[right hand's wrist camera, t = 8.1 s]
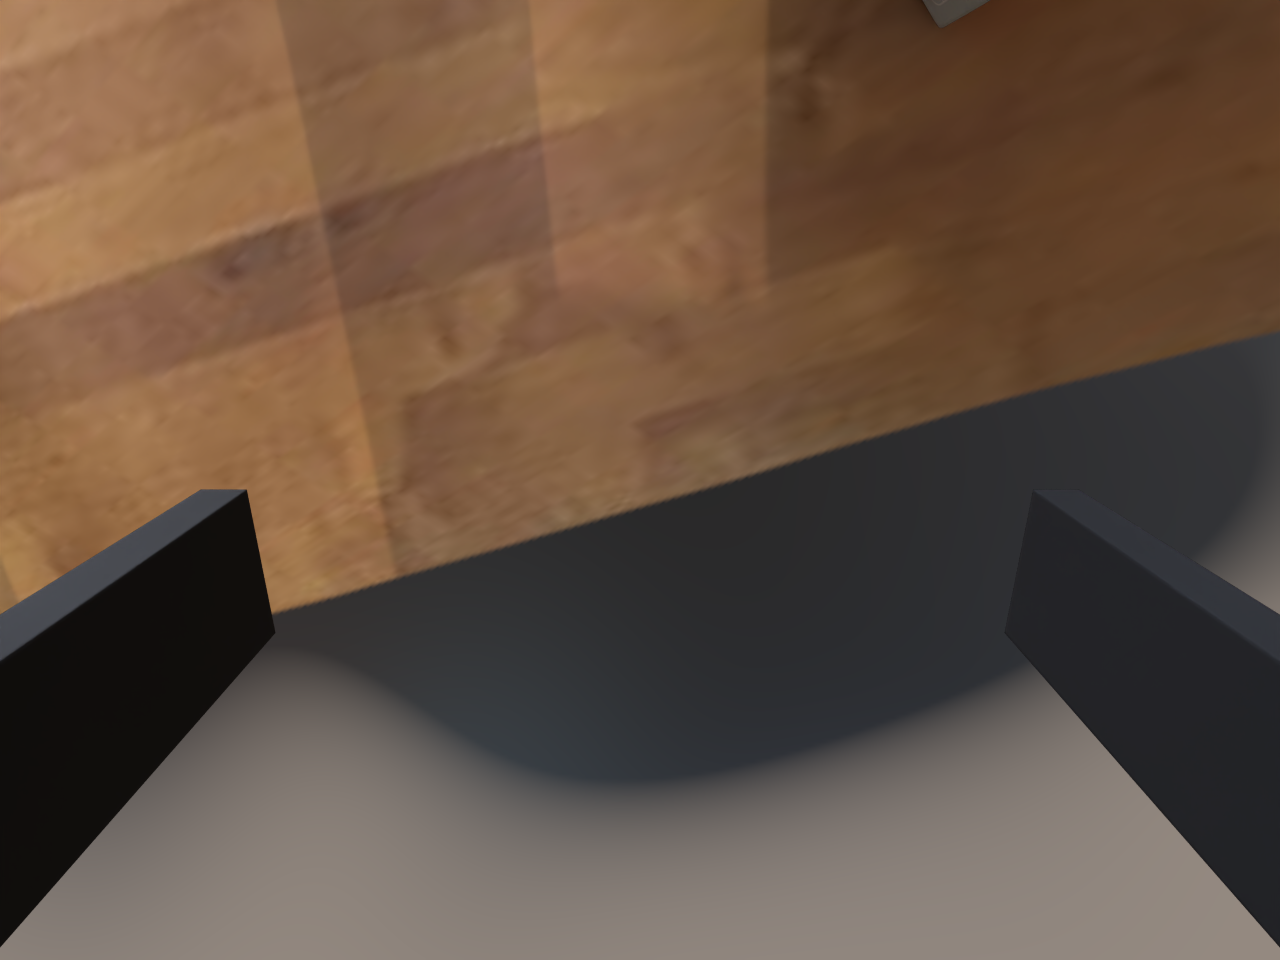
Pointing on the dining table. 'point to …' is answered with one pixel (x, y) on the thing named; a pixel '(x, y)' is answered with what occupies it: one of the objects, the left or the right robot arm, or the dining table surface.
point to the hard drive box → (951, 9)
